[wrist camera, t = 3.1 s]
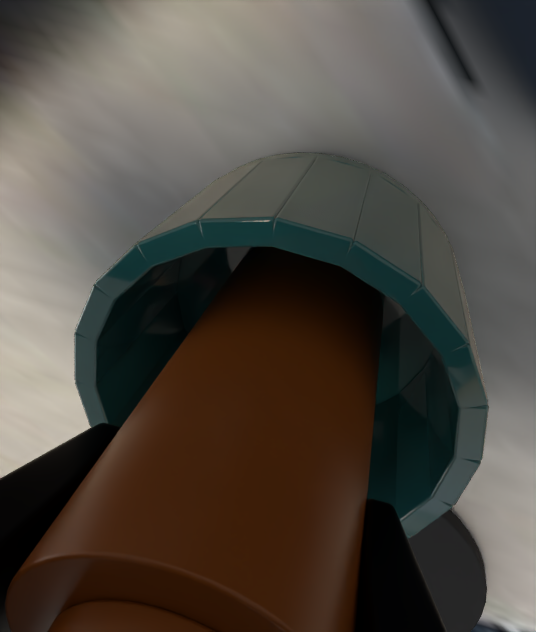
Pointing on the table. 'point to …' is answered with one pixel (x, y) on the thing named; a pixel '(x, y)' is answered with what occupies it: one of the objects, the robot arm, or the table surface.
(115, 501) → the bottle
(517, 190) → the table surface
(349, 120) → the table surface
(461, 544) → the coaster
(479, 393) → the cup
